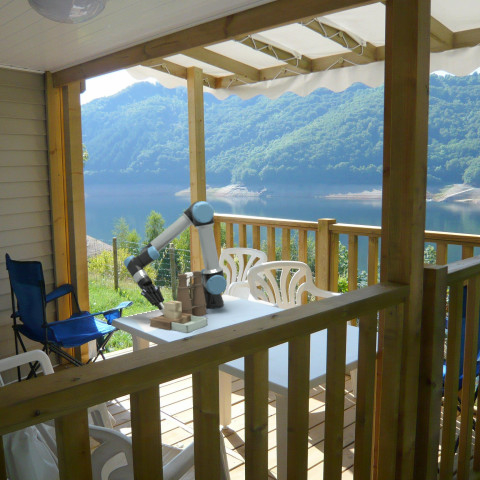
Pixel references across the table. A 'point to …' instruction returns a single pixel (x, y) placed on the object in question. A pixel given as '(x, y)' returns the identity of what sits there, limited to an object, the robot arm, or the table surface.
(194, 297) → the binoculars
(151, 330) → the table surface
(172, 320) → the board
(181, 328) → the tray
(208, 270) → the robot arm
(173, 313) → the block
